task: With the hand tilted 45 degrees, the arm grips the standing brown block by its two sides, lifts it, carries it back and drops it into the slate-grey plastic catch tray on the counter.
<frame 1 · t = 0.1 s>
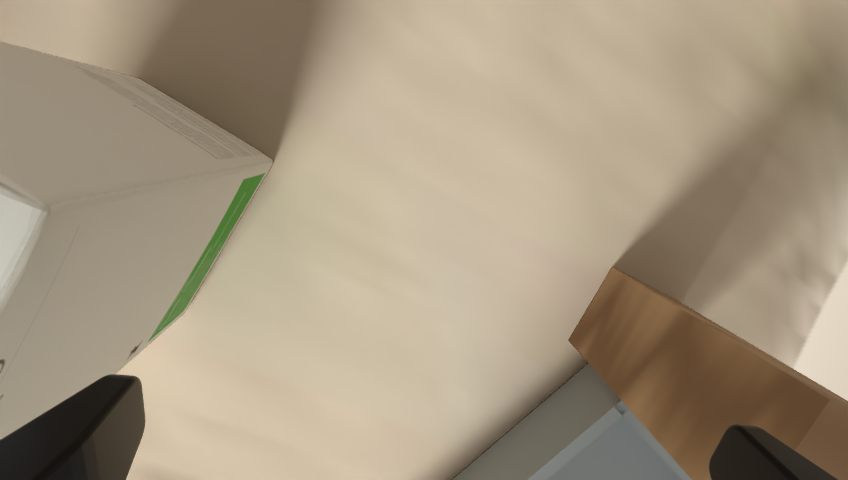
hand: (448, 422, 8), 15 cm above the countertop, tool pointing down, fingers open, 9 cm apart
brown block: (624, 321, 25), on the countertop
skincare box: (161, 194, 22), on the countertop
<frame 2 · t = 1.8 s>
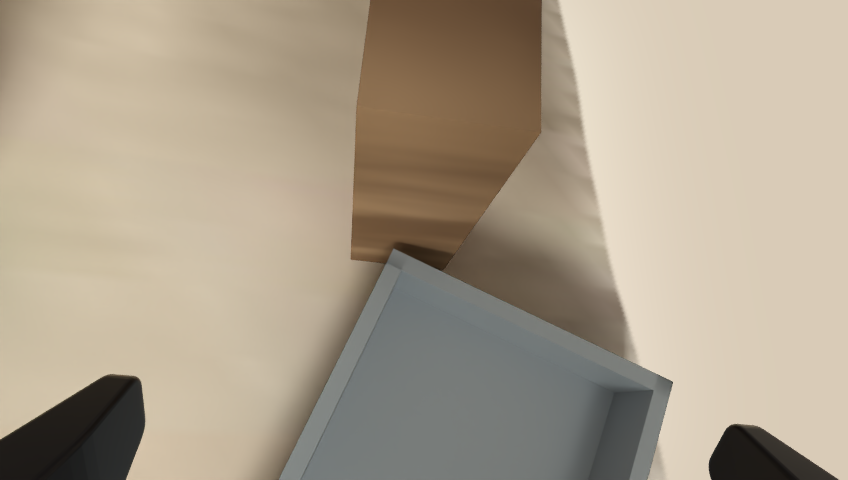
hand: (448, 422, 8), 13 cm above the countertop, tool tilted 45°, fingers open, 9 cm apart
brown block: (401, 220, 23), on the countertop
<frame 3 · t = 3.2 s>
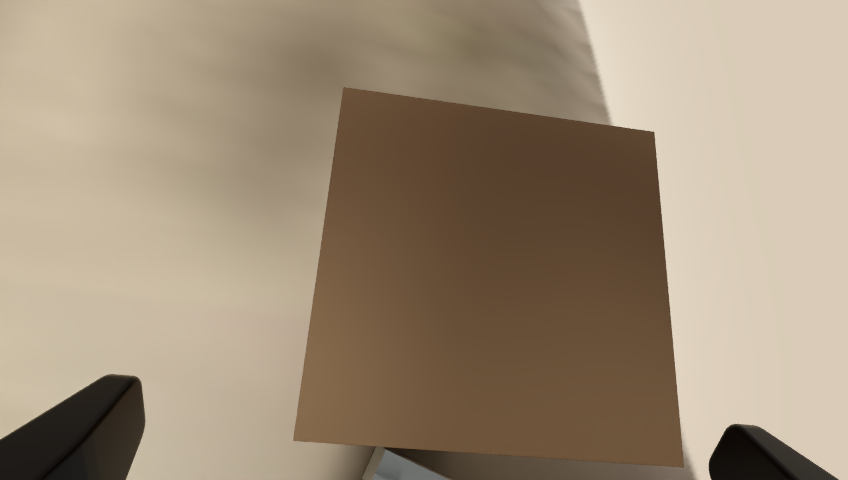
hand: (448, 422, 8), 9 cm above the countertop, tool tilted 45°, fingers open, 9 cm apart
brown block: (398, 366, 17), on the countertop
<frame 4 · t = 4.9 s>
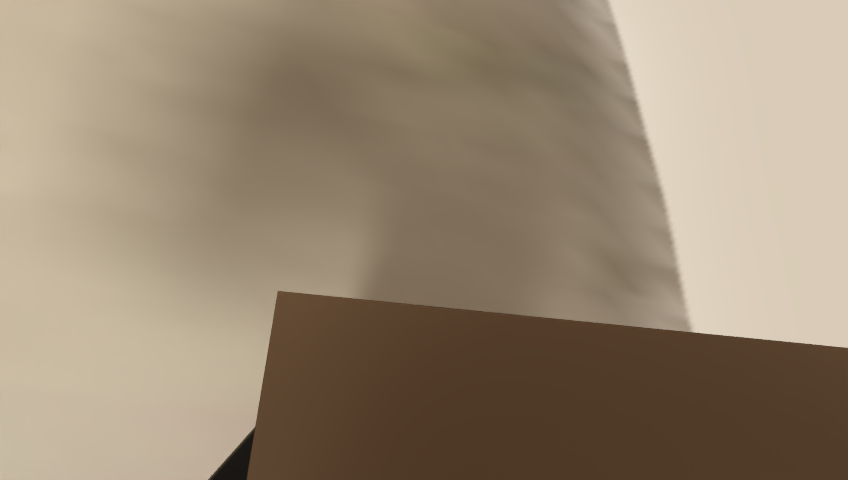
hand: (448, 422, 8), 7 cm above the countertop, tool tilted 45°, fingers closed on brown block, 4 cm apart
brown block: (398, 474, 14), on the countertop, touching gripper
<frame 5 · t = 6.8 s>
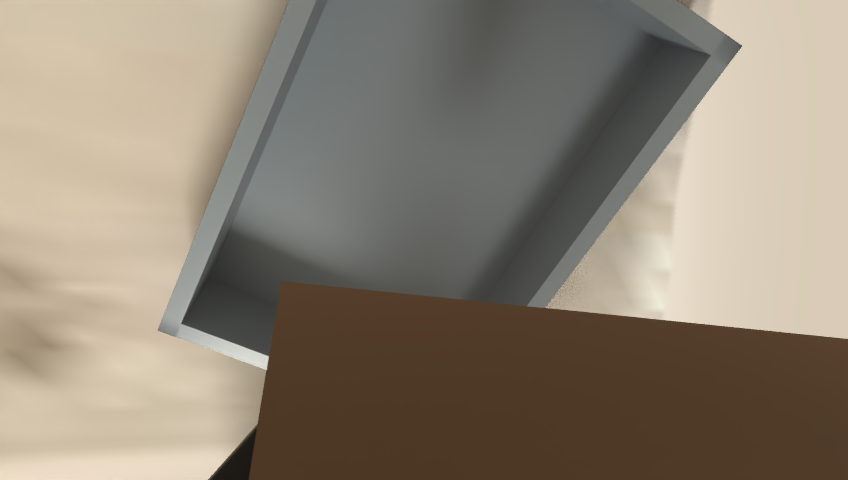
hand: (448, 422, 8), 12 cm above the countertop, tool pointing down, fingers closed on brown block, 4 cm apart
brown block: (398, 471, 14), point 9 cm above the countertop, tilted 45°, touching gripper
tray: (416, 165, 19), on the countertop
when the fingers open (7 cm above the countertop, at t = 7.8 s): brown block moves 1 cm and tips over, resting on tray.
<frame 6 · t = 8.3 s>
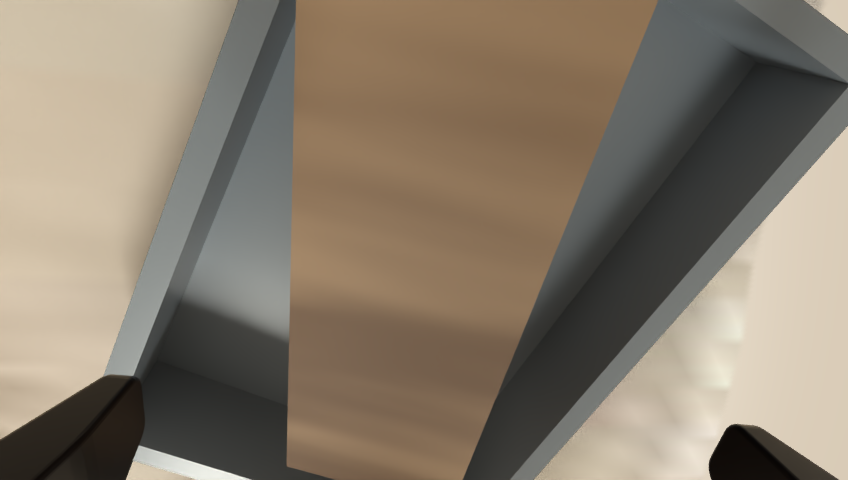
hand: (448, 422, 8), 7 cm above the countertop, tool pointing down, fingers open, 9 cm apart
brown block: (387, 417, 14), point 3 cm above the countertop, tilted 79°, touching tray
tray: (423, 218, 15), on the countertop
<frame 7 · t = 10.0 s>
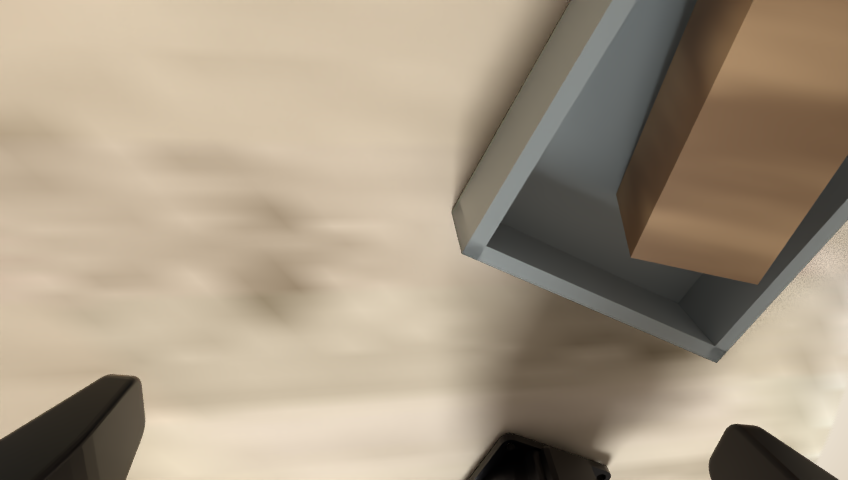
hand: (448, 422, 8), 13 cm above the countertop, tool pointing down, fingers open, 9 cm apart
brown block: (680, 235, 18), point 3 cm above the countertop, tilted 79°, touching tray
tray: (693, 86, 19), on the countertop
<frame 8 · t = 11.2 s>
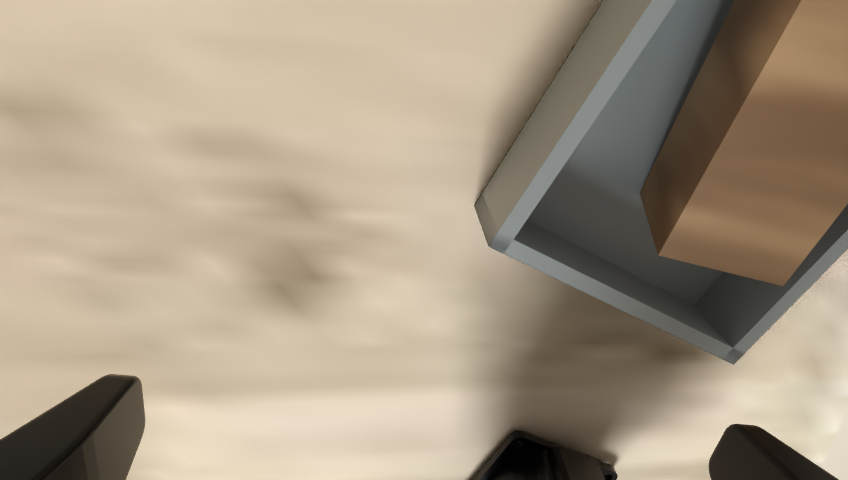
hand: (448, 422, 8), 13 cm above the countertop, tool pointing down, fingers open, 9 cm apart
brown block: (704, 235, 18), point 3 cm above the countertop, tilted 79°, touching tray
tray: (721, 88, 19), on the countertop
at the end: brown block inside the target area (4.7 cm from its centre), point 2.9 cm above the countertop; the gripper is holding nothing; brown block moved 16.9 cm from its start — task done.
